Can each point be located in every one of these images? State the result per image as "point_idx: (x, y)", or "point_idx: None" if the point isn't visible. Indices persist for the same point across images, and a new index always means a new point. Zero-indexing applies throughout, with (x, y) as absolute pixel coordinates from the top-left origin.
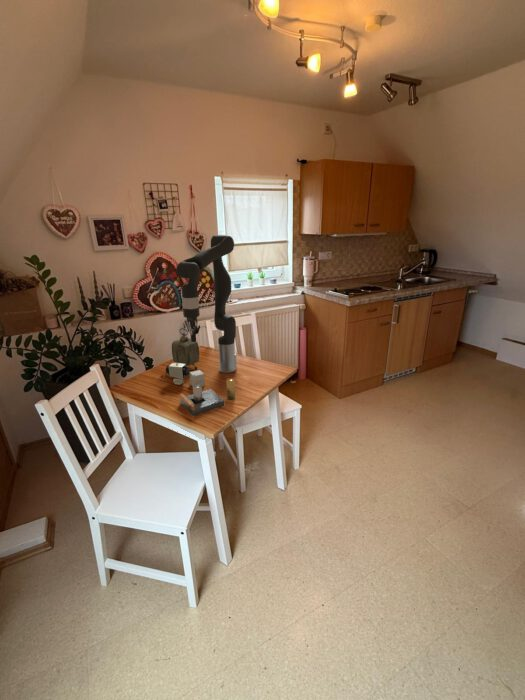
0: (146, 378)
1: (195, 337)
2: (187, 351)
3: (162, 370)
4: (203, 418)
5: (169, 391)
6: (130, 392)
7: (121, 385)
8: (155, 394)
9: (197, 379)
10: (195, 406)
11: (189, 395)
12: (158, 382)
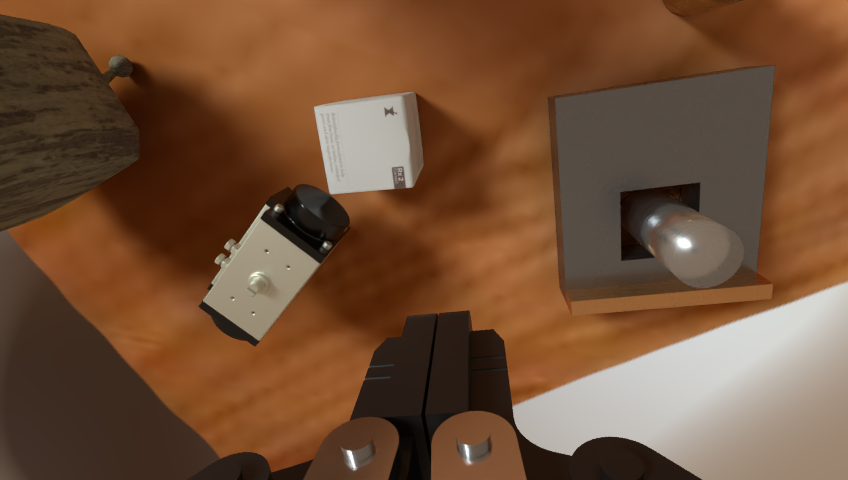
0: (187, 363)
1: (508, 386)
2: (41, 157)
3: (99, 269)
4: (792, 230)
5: (392, 301)
6: None
7: None
8: None
9: (415, 153)
10: None
11: (568, 250)
12: None
